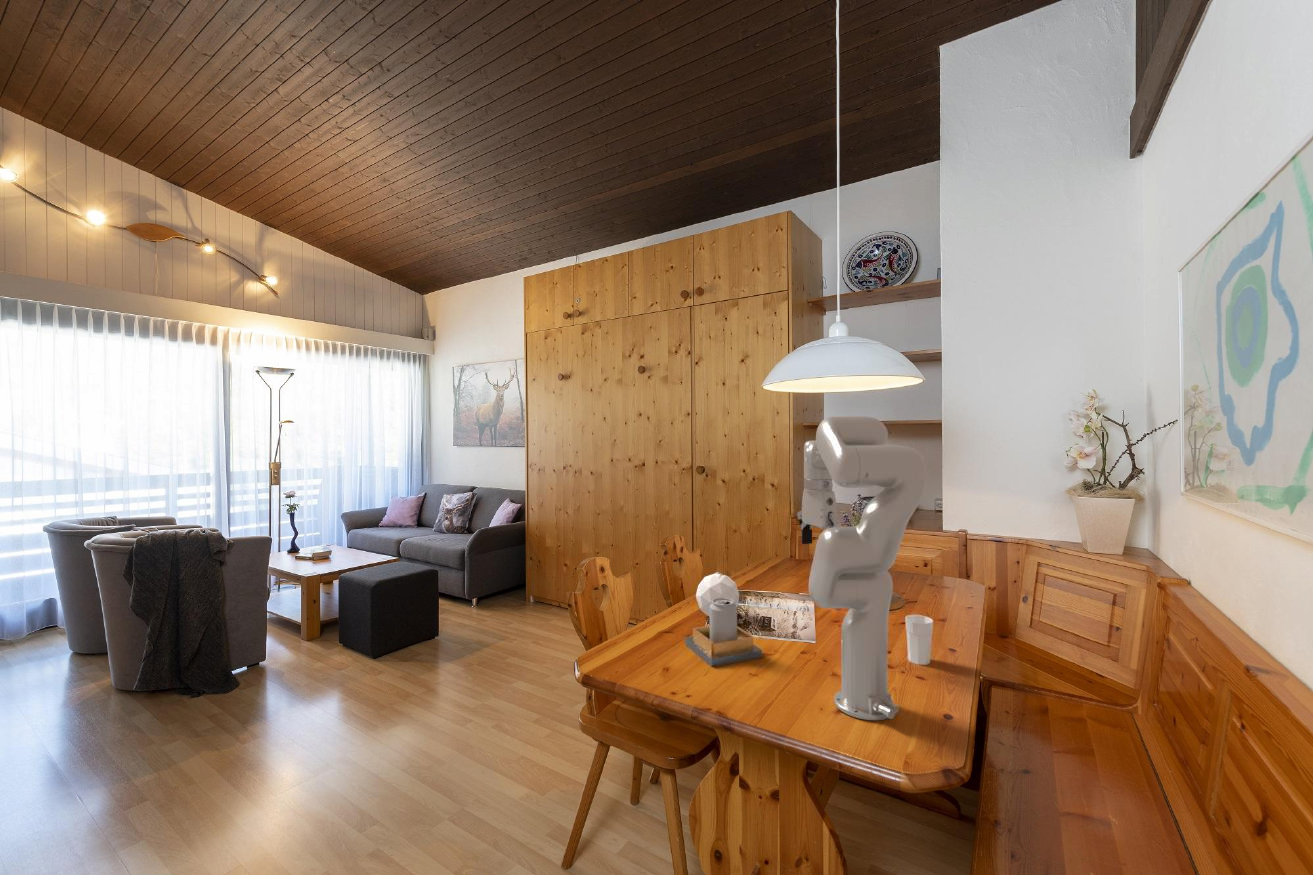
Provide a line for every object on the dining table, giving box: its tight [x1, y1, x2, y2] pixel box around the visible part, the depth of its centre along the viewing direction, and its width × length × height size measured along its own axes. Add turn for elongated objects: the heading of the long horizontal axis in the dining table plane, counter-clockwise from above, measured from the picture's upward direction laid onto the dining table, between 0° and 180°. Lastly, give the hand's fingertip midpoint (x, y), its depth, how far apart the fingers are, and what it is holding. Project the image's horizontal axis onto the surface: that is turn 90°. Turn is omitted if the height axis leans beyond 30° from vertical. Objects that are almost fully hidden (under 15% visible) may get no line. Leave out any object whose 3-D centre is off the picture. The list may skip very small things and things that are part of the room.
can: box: [709, 598, 738, 643], centre depth 155 cm, size 8×8×12 cm
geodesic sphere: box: [695, 571, 740, 617], centre depth 184 cm, size 15×14×14 cm
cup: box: [904, 614, 934, 666], centre depth 148 cm, size 7×7×11 cm
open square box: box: [684, 625, 763, 668], centre depth 156 cm, size 16×15×5 cm
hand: (818, 547), depth 156 cm, fingers open, 9 cm apart
